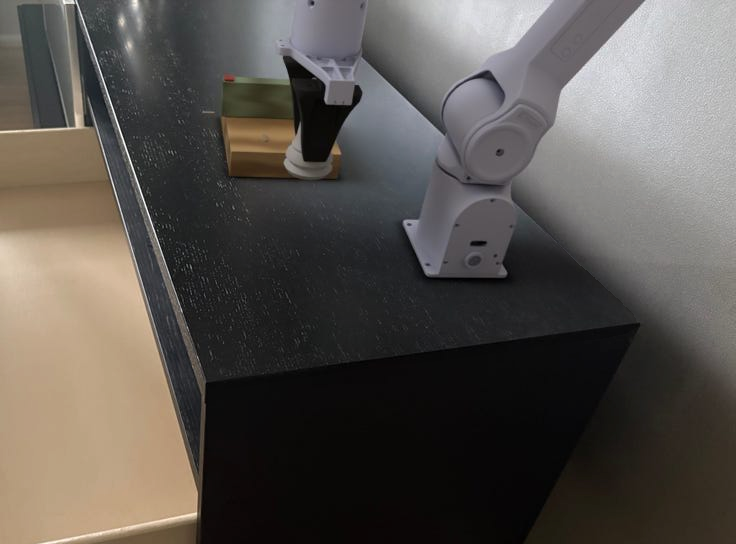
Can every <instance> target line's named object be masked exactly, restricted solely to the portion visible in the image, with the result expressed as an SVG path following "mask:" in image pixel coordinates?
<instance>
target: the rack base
mask: <svg viewBox="0 0 736 544" xmlns="http://www.w3.org/2000/svg"><path fill="white" fill-rule="evenodd" d="M215 113H216V112H215V111H207V110H205V111H204V110H202V112H201V114H202V115H215ZM220 124H221V131H222V136H223V143H224V149H225V156H226V157H225V158H226V163H227V169H228V176H229V177H237V178H238V177H240V178H279V179H280V178H281V179H282V178H283V179H298V178H297V177H294V176H293V175H291V174H290V173H289V172H288V170H287V169H286V167H285V165H284V160H285V159H286V158H287V157H286V151H287V148H288V147H289V146H290V145H291V144H292V140H294V139H295V137H296V136H295V130H294V119H280V118H253V117H227V116H221V115H220ZM331 152H332V154H333V160H332V162H331V163H330V164H331V165H332V171H331V172H330V173H329V174H328V175H326V176H325V177H324V178H322V179H321V180H338V178H339V172H340V167H341V162H342V156H343V154H342V152H341V148H340V146H339V144H338V141H337V140H336V141H335V143H334V146H333V148H332V150H331Z"/></svg>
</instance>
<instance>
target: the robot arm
mask: <svg viewBox="0 0 736 544" xmlns="http://www.w3.org/2000/svg"><path fill="white" fill-rule="evenodd" d="M645 1H646V0H553V1H552V2H551V3H549V4H550V5H548V6H547V8H546V9H545V10H544V11H543V12H542V13H541V15H540V16H539V17H538V18H537V19H536V20H535V22H534V23H533V24H532V25H531V26H530V28H529V29H528V30H527V31H526V32H525V33H524V34H523V36H522V37H521V38H519V40H518V41H517V42H516V44H515V45H514V46H513V47H510V48H508V49H505V50H502V51H499V52H497V53H495V54H492V55H490V56H488V58H487V59H486V60H485V61H484V62H483V63H482V64H481V65H480V66H479V68H477V69H476V70H475V71H473V72H472V73H471V74H468V75H466V76H464V77H463V78H461V79H458V80H457V81H456V82H454V84H453V85H452V86H450V88H449V89H448V90H447V91H446V92H445V94H444V96H443V98H442V100H441V104H440V108H439V118H440V121H441V122H440V123H441V125H442V126H443V128H444V130H445V131H446V133H445V136H444V139H443V141H442V142H441V144H440V145H439V147H438V148H437V151H436V154H435V158H434V161H433V165H432V169H431V172H430V176H429V180H428V184H427V188H426V192H425V195H424V199H423V203H422V206H421V210H420V214H419V217H418V219H404V220H403V221H402V226H403V228H404V230H405V233H406V235H407V237H408V240H409V242H410V244H411V246H412V249H413V250H414V252H415V254H416V257H417V259H418V262H419V264H420V266H421V268H422V270H423V273H424V274H425V276H426V277H428V278H467V279H468V278H472V279H473V278H474V279H475V278H476V279H477V278H479V279H480V278H481V279H483V278H485V279H504V278H506V277H507V276H508V272H507V270H506V268H505V266H504V264H503V262H504V259H505V256H506V253H507V250H508V247H509V246H510V242H511V239H512V236H513V235H514V232H515V229H516V226H517V221H518V214H517V211H516V208H515V206H514V203H513V199H512V183H513V180H514V178H515V177H517V176H519V175H520V174H521V173H522V172H523V171H524V170H525V169H526V168H528V166H529V164H530V163H531V161H532V160H533V158H534V156H535V154H536V151H537V148H538V146H539V143H540V142H541V140H542V139H543V137H544V136H545V135H546V134H547V133H548V132H549V131H550V129H552V127H553V126H554V125H555V122H556V118H557V112H558V109H559V108H558V107H559V101H560V97H561V93H562V90H563V89H564V88H565V87H566V86H567V85H568V84H569V82H570V81H571V80H572V79H574V77H575V76H576V75H577V74H578V73H579V72H580V71H581V70H582V69H583V68H584V67H585V66H586V65H587V64H588V63H589V61H590V60H592V58H593V57H594V56H595V55H596V54H597V53H598V52H599V51H600V49H602V47H604V46H605V44H607V42H608V41H609V40H610V39H611V38H612V37H613V36H614V35H615V34H616V32H617V31H619V29H620V28H621V27H622V26H623V25H624V24H625V23H626V22H627V21H628V19H630V18H631V16H632V15H633V14H635V12H636V11H637V10H639V8H640V7H641V6H642V5H643V4H644V2H645ZM368 5H369V0H294V7H293V14H292V15H293V16H292V25H291V34H290V37H288V38H276V40H275V46H274V49H275V51H276V54H277V55H278V56H279V55H280V56H282V60H283V61H282V62H283V63H284V66H285V68H286V72H287V76H288V79H289V81H290V86H291V92H292V102H293V119H294V130H295V136H296V135H297V132H298V129H299V125H300V121H301V152H302V157H303V161H304V162H326V161H327V159H328V157H329V155H330V153H331V150H332V148H333V146H334V143H335V141H337V138H338V136H339V134H340V132H341V129H342V127H343V125H344V123H345V121H346V120H347V119H348V117H349V115H350V114H351V113H352V112H353V110H354V109H355V108H356V107H357V106H358V105H359V103H360V102H361V100H362V97H363V93H364V92H363V90H362V88H361V86H360V84H356V79H355V76H356V72H357V71H358V67H359V65H360V62H361V60H362V56H363V55H362V54H363V47H362V41H363V36H364V28H365V23H366V18H367V12H368ZM312 78H316V80H315V79H312Z"/></svg>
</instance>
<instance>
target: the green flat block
mask: <svg viewBox="0 0 736 544" xmlns="http://www.w3.org/2000/svg"><path fill="white" fill-rule="evenodd" d="M220 88H221V89H220V109H219V110H220V117H221V116H227V117H253V118H280V119H293V102H292V92H291V86H290V81H289V78H272V77H271V78H270V77H248V76H247V77H246V76H234V74H224V75H223V76H221V87H220Z"/></svg>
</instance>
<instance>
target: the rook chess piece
mask: <svg viewBox="0 0 736 544" xmlns="http://www.w3.org/2000/svg"><path fill="white" fill-rule="evenodd" d="M312 79H315V80H316V78H312ZM286 157H287V158H286V159H285V160H284V165H285V167H286V169H287V170H288V172H289V173H290V174H291V175H293V176H294V177H297V178H296V179H300V180H304V181H305V180H306V181H318V180H323V179H322V178H324V177H325V176H326V175H328V174H329V173H330V172H331V171H332V165H331V164H330V163H331V162H332V160H333V154H332V152H331V153H330V155H329V157H328V159H327V161H326V162H304V161H303V157H302V152H301V121H300V125H299V129H298V132H297V135H296V137H295V139H294V140H292V144H291V145H290V146H289V147H288V148H287V151H286Z"/></svg>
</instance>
